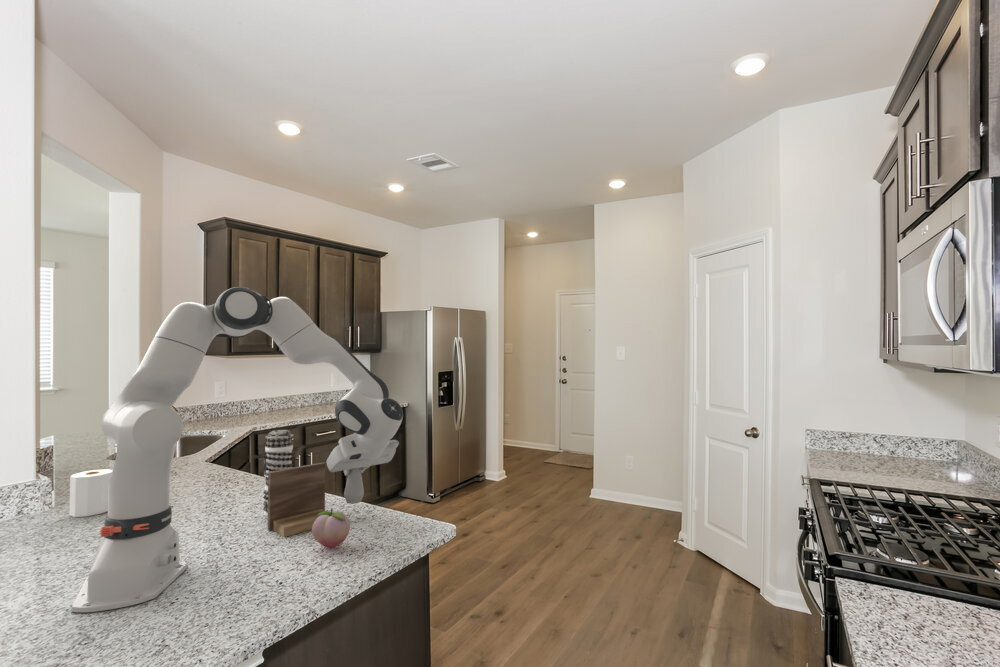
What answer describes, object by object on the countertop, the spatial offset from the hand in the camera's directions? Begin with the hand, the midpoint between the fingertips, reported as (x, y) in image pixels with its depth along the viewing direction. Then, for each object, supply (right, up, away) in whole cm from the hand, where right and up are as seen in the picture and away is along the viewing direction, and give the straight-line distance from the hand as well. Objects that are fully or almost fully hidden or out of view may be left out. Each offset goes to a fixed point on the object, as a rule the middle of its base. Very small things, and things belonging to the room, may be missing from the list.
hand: (353, 472), depth 145 cm
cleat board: (-12, -13, -8) cm, 19 cm away
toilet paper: (-84, -14, +5) cm, 85 cm away
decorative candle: (-25, -14, +4) cm, 28 cm away
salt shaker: (0, -9, -1) cm, 9 cm away
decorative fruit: (+2, -13, -24) cm, 27 cm away
